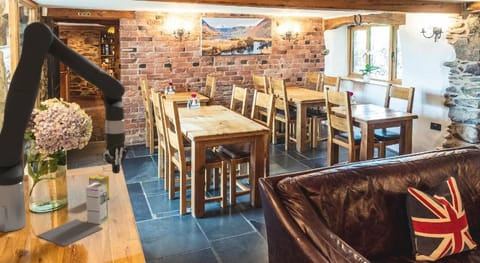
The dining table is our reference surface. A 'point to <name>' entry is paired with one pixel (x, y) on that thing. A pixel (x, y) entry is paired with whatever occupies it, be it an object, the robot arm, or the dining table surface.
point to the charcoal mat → (69, 232)
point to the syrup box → (96, 203)
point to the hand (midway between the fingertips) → (116, 173)
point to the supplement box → (100, 181)
